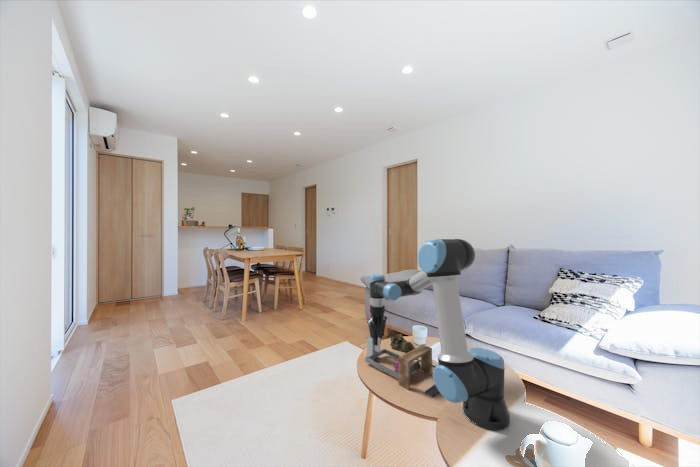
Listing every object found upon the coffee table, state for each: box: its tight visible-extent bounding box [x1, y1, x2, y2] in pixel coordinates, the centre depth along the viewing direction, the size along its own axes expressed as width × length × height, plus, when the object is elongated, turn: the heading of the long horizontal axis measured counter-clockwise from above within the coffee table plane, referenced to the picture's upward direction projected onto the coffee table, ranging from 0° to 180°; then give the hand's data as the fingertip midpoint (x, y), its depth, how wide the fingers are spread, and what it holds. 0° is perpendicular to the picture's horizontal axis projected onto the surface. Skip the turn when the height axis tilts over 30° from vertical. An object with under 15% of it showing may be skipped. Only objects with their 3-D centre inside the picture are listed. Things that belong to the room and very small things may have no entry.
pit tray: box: [424, 383, 440, 398], centre depth 114 cm, size 4×12×1 cm, turn 132°
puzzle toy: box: [394, 359, 413, 377], centre depth 125 cm, size 6×6×6 cm
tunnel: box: [398, 344, 433, 391], centre depth 121 cm, size 5×18×12 cm, turn 132°
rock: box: [389, 333, 415, 353], centre depth 153 cm, size 13×10×10 cm
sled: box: [364, 335, 421, 380], centre depth 133 cm, size 26×15×11 cm, turn 42°
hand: (377, 350), depth 138 cm, fingers closed
